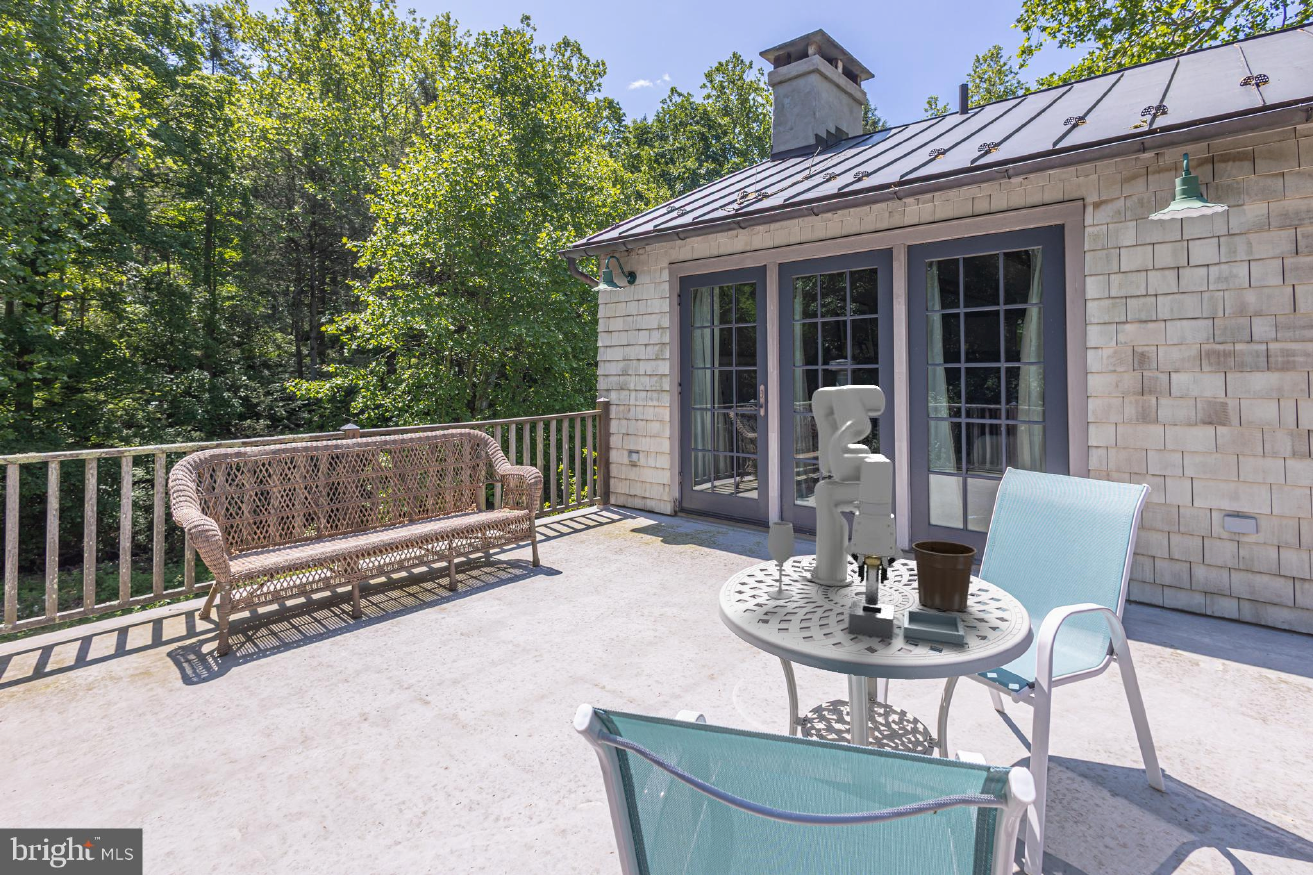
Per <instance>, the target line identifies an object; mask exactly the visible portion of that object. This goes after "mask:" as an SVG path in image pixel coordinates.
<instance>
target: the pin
mask: <svg viewBox="0 0 1313 875" xmlns="http://www.w3.org/2000/svg"><path fill="white" fill-rule="evenodd" d="M863 561H864V565H865V593H864V594H865V595H864V596H865V598H864V602H865V604H867V605H871V606H876V605H878V604H879V585H880V584H879V583H880V582H879V581H880V567H881V566H882V563H883V561H882V557H879V556H869V555H864V558H863Z"/></svg>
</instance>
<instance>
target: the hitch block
mask: <svg viewBox="0 0 1313 875" xmlns="http://www.w3.org/2000/svg"><path fill="white" fill-rule="evenodd" d="M894 616H895V605H892V604H891V605H890V604H881V603H878V605H876V606H871V605H867V604H865V601H859V600H858V601H857V600H852V601H851V606H850V608H849V612H848V634H851V635H855V636H857V635H858V636H863V637H869V638H877V639H878V638H879V639H883V640H891V641H892V640H893V634H894V621H895V620H894Z"/></svg>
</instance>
